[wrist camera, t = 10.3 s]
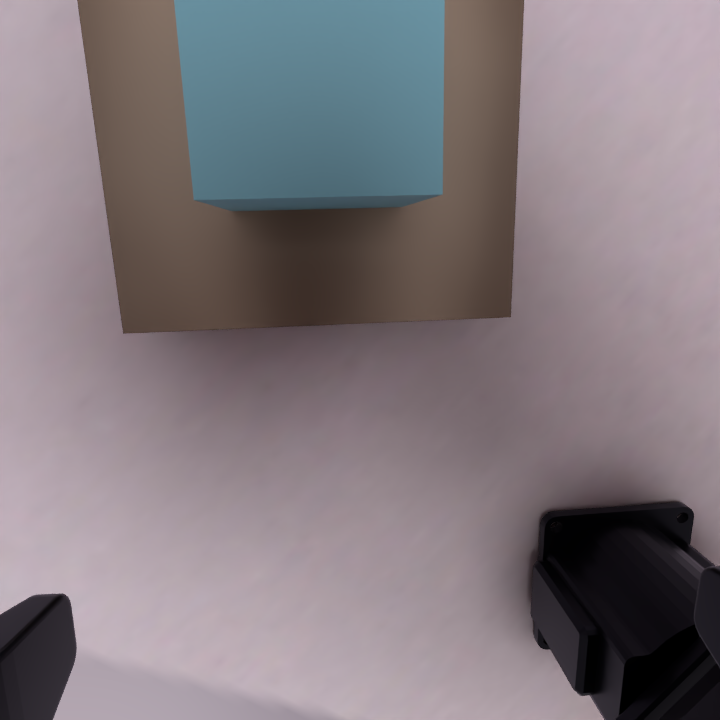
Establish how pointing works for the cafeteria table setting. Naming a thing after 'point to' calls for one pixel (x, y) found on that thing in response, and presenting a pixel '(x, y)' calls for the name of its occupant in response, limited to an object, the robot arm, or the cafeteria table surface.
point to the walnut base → (307, 226)
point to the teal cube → (313, 102)
